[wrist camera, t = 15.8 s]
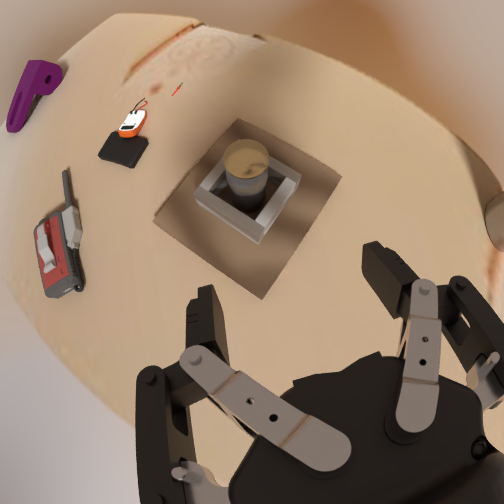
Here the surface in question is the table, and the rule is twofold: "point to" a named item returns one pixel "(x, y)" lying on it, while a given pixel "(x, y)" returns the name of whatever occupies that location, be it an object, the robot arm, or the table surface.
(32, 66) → the mounting bracket
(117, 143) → the multimeter
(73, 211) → the walkie-talkie
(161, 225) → the dock board
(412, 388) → the robot arm
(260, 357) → the table surface
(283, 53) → the table surface
